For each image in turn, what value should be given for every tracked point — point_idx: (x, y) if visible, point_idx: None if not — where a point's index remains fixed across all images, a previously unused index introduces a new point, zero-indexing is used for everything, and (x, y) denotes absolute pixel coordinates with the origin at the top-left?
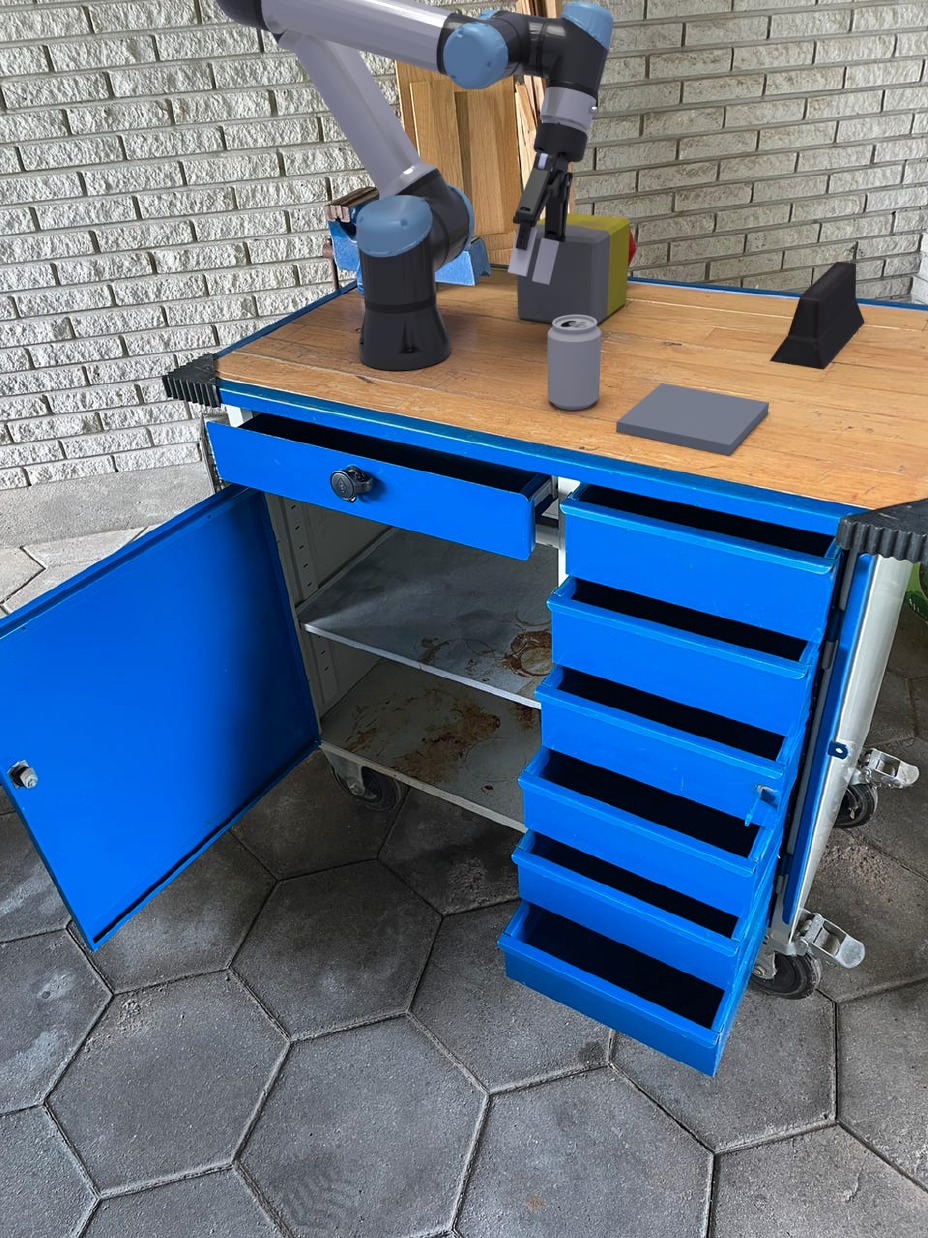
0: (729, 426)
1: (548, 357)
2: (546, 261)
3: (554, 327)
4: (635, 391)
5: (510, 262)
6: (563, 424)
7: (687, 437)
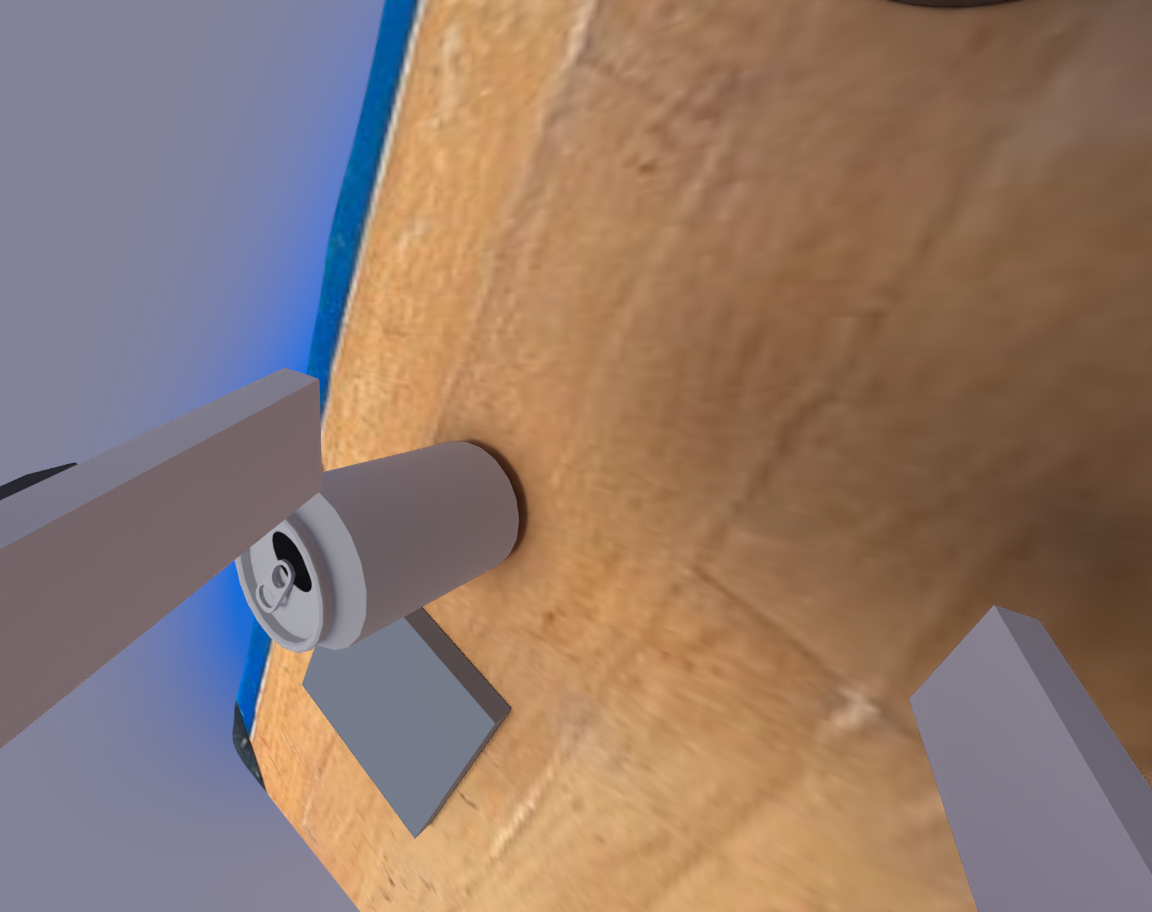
0: (345, 720)
1: (360, 465)
2: (1016, 853)
3: None
4: (521, 661)
5: (232, 397)
6: (387, 453)
7: None
